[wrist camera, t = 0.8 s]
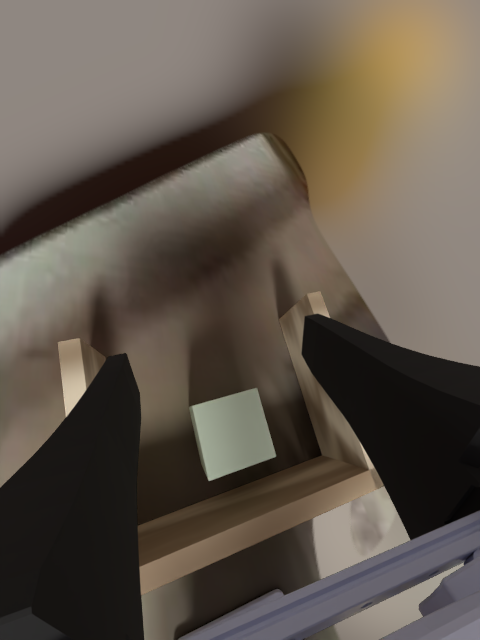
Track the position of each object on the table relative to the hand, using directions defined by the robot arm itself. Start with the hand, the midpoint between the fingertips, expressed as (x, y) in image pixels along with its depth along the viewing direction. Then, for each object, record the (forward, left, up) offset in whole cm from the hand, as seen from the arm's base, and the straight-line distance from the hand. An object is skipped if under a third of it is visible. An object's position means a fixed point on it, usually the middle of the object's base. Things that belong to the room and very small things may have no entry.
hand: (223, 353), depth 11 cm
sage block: (-4, -1, -14) cm, 15 cm away
